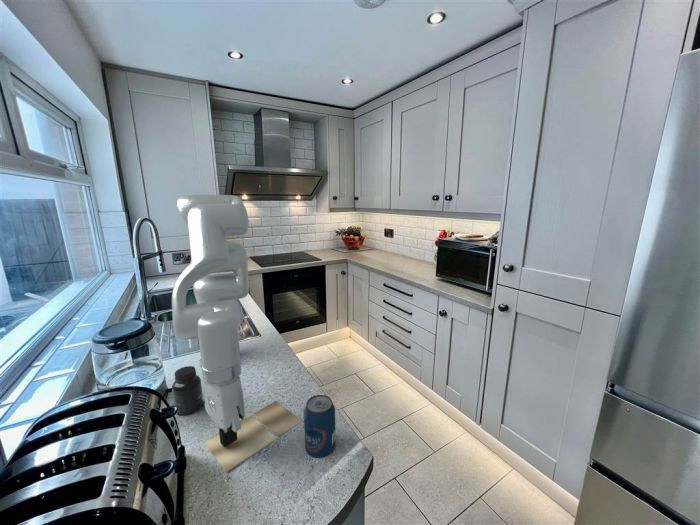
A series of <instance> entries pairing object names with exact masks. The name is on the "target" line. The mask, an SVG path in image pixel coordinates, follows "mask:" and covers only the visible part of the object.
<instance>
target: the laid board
mask: <svg viewBox="0 0 700 525" xmlns="http://www.w3.org/2000/svg"><path fill="white" fill-rule="evenodd" d="M252 416H253V417H255V418H256V419H257V420H258V421H259V422H260V423H261V424H262V425H263V426H265V427H266V428H267V429H268V430H269V431H270V432H271V433H272V434H274V435H275V436H276V437H277V438H280V437H282V436H283V435H284V434H286V433H288V432H289V431H290V430H291V429H293V428H294V427H296V426H297V425H299V424H300V423H301V422H303V420H302V419H301V418H299V417H298V416H296V415H295V414H294V413H293V412H291V411H290V410H288V409H287V408H286V407H285V406H284V405H282V404H281V403H280V402H279V401H278V400H275V401H273V402H271V403H270V404H268V405H267V406H264V407H263V408H260V409H259V410H258V411H256V412H254V413H253V414H252Z"/></svg>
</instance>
